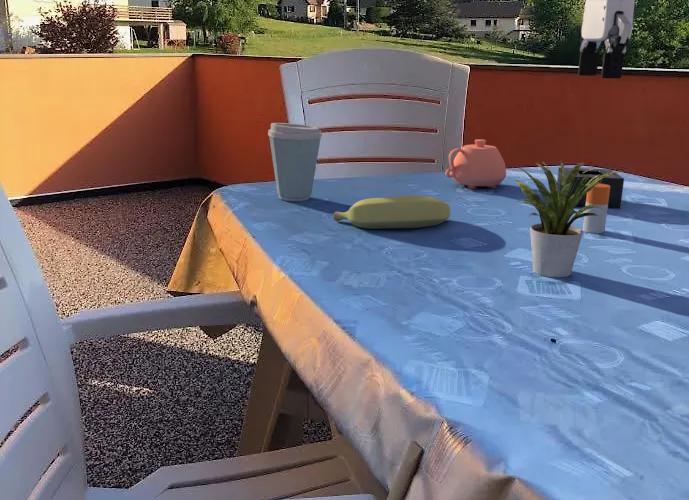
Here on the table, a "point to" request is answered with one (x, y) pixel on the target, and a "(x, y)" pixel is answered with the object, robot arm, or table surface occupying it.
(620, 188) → the holder
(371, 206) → the banana
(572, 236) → the house plant
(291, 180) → the disposable coffee cup
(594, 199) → the orange-capped white cylinder
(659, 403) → the table surface
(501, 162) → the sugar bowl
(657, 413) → the table surface
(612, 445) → the table surface
